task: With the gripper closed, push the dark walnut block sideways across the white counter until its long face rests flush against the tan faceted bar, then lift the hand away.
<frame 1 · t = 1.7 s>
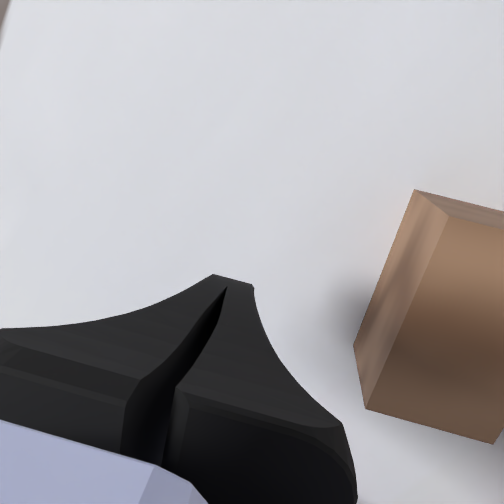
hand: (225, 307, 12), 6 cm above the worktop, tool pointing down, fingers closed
walnut block: (434, 286, 18), on the worktop
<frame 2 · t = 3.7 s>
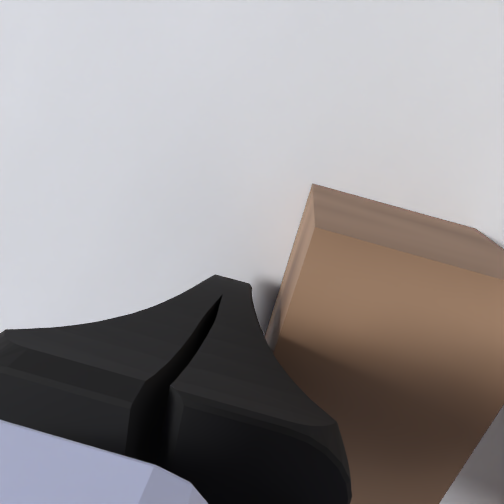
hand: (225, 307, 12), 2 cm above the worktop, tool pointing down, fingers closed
walnut block: (348, 317, 13), on the worktop, touching gripper
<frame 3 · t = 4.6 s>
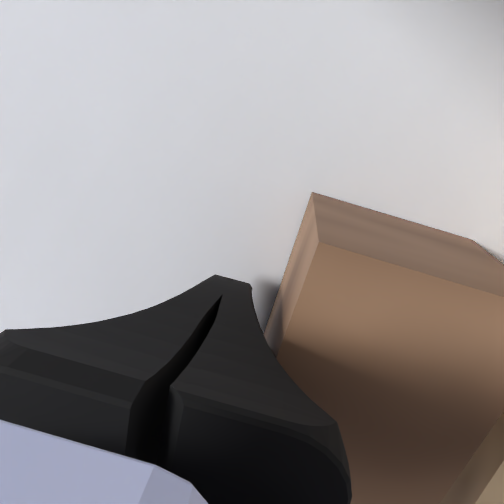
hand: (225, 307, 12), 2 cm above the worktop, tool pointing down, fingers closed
walnut block: (344, 324, 13), on the worktop, touching gripper
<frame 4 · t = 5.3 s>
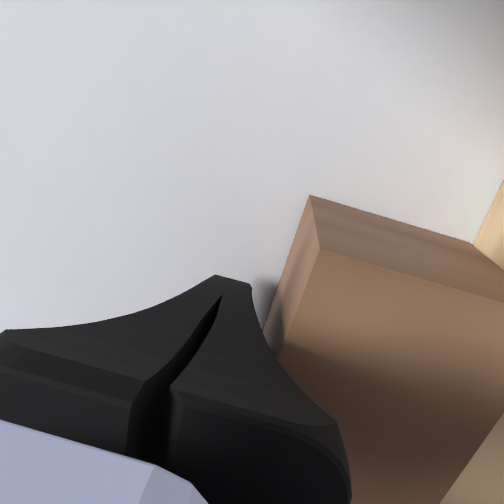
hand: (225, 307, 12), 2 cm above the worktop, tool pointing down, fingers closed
tan faceted bar: (502, 328, 12), on the worktop
walnut block: (341, 326, 13), on the worktop, touching gripper
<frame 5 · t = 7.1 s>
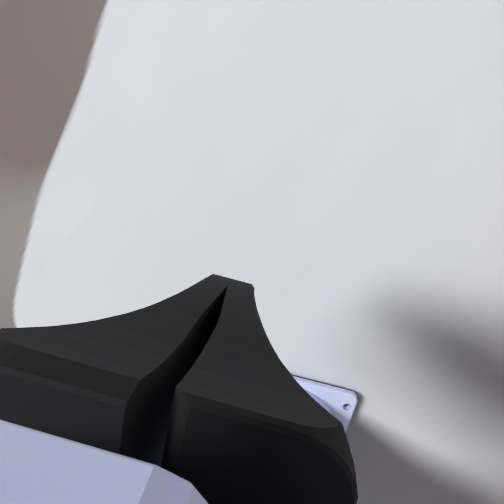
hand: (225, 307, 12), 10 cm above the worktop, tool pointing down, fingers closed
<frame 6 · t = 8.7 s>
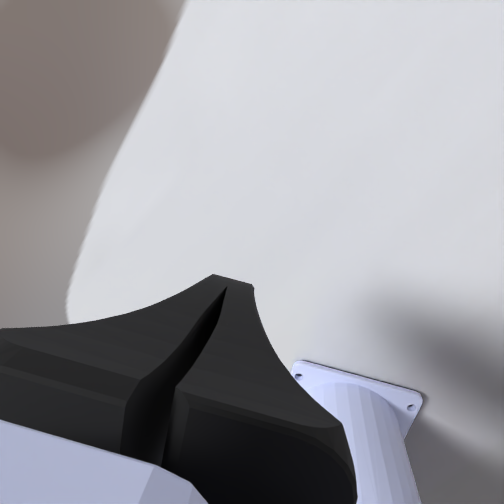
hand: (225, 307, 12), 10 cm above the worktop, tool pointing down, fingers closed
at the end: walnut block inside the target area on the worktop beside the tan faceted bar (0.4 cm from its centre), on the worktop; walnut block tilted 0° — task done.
